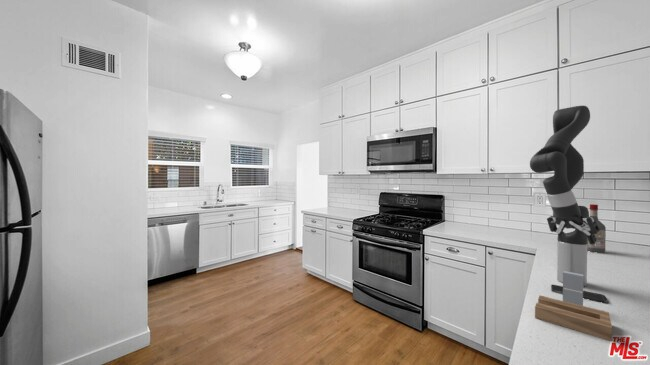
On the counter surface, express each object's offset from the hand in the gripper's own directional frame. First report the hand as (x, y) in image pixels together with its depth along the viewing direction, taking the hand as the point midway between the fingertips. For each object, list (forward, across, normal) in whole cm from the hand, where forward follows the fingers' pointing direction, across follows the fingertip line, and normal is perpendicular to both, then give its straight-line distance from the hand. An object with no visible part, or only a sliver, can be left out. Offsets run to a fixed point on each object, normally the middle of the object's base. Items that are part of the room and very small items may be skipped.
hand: (578, 242), depth 97 cm
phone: (+19, +3, +6) cm, 21 cm away
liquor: (+47, +42, -83) cm, 104 cm away
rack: (+11, -9, +31) cm, 34 cm away
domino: (+15, -2, +18) cm, 24 cm away
